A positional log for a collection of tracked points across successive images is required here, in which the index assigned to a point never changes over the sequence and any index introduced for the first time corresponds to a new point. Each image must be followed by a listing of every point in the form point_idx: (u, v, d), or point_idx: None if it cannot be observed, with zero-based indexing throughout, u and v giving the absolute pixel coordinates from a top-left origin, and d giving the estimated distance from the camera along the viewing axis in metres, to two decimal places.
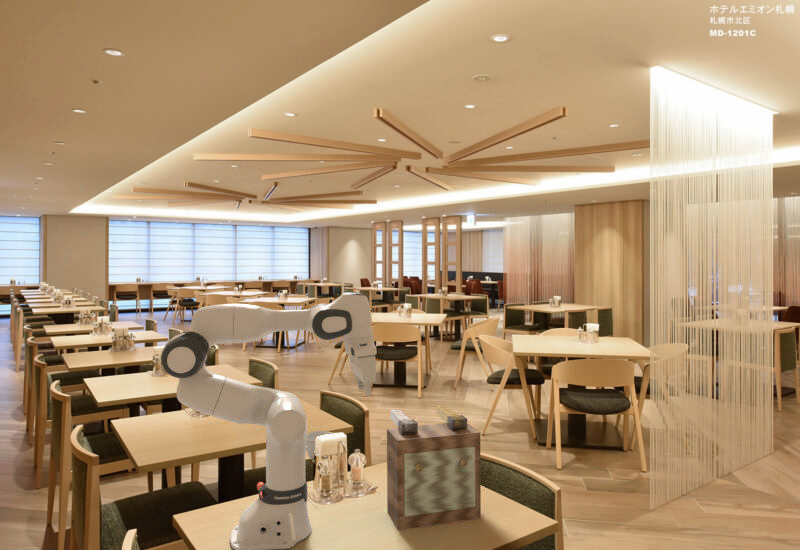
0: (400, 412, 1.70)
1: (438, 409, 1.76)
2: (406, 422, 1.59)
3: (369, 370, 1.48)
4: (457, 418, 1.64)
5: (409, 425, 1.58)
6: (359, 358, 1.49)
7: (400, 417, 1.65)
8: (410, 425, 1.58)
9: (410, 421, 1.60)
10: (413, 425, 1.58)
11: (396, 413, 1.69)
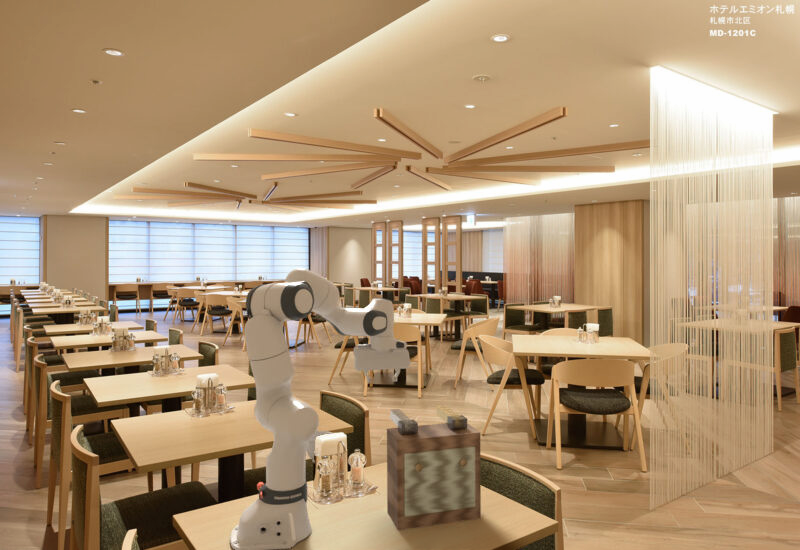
0: (400, 412, 1.70)
1: (438, 409, 1.76)
2: (406, 422, 1.59)
3: None
4: (457, 418, 1.64)
5: (409, 425, 1.58)
6: (405, 349, 1.91)
7: (400, 417, 1.65)
8: (410, 425, 1.58)
9: (410, 421, 1.60)
10: (413, 425, 1.58)
11: (396, 413, 1.69)
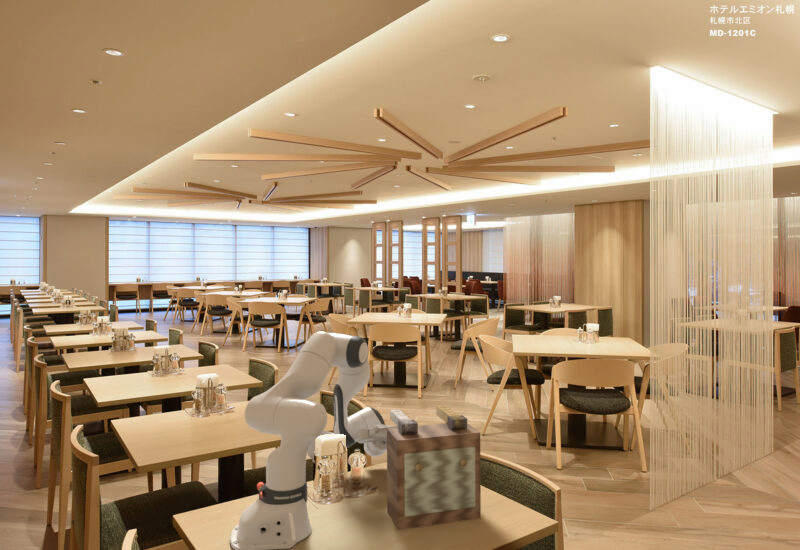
0: (400, 412, 1.70)
1: (438, 409, 1.76)
2: (406, 422, 1.59)
3: None
4: (457, 418, 1.64)
5: (409, 425, 1.58)
6: None
7: (400, 417, 1.65)
8: (410, 425, 1.58)
9: (410, 421, 1.60)
10: (413, 425, 1.58)
11: (396, 413, 1.69)
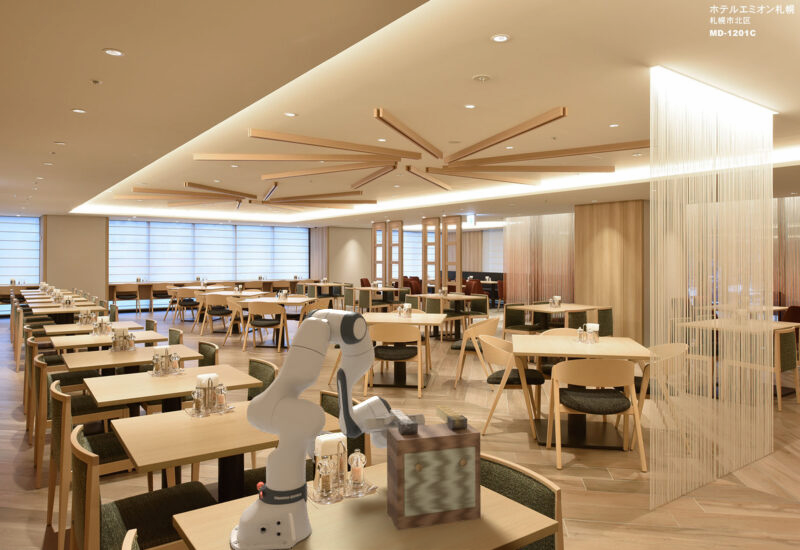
0: (400, 412, 1.70)
1: (438, 409, 1.76)
2: (406, 422, 1.59)
3: None
4: (457, 418, 1.64)
5: (409, 425, 1.58)
6: None
7: (400, 417, 1.65)
8: (410, 425, 1.58)
9: (410, 421, 1.60)
10: (413, 425, 1.58)
11: (396, 413, 1.69)
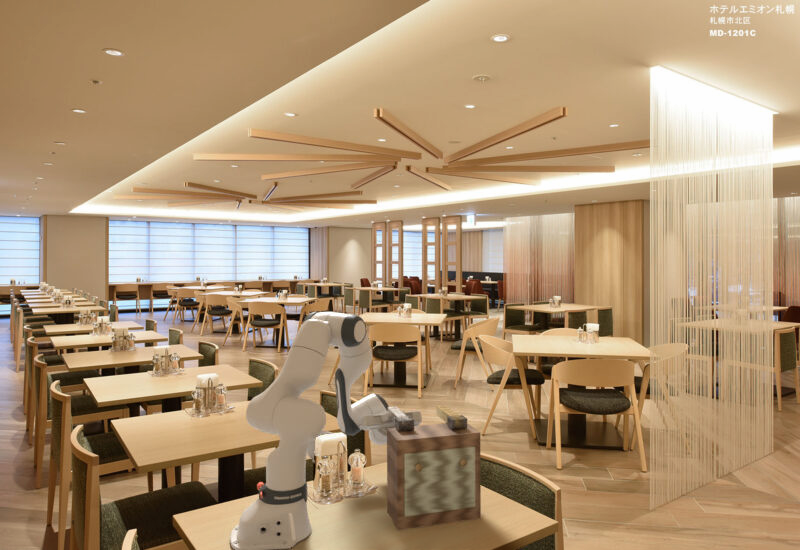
0: (397, 409, 1.74)
1: (438, 409, 1.76)
2: (403, 419, 1.63)
3: None
4: (457, 418, 1.64)
5: (405, 422, 1.61)
6: None
7: (397, 414, 1.68)
8: (407, 422, 1.61)
9: (407, 418, 1.64)
10: (410, 422, 1.62)
11: (393, 410, 1.73)
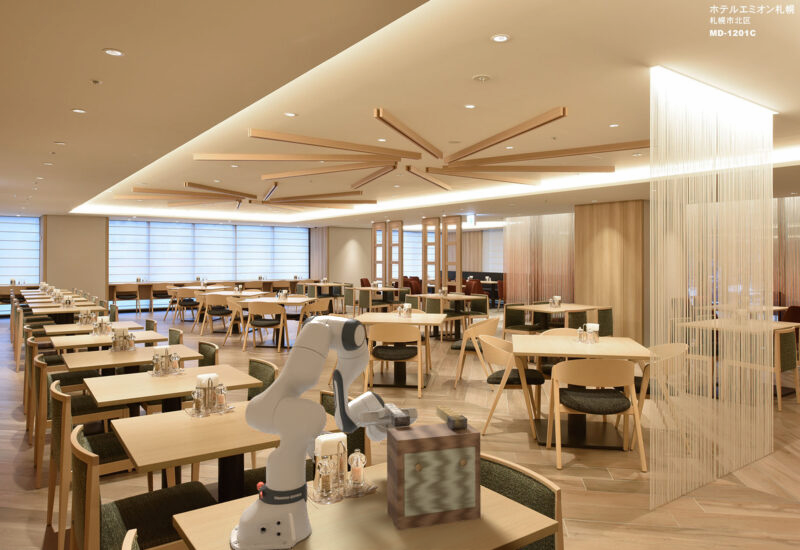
0: (393, 406, 1.78)
1: (438, 409, 1.76)
2: (399, 415, 1.67)
3: None
4: (457, 418, 1.64)
5: (401, 418, 1.65)
6: None
7: (393, 410, 1.72)
8: (403, 418, 1.66)
9: (403, 414, 1.68)
10: (406, 418, 1.66)
11: (390, 407, 1.77)
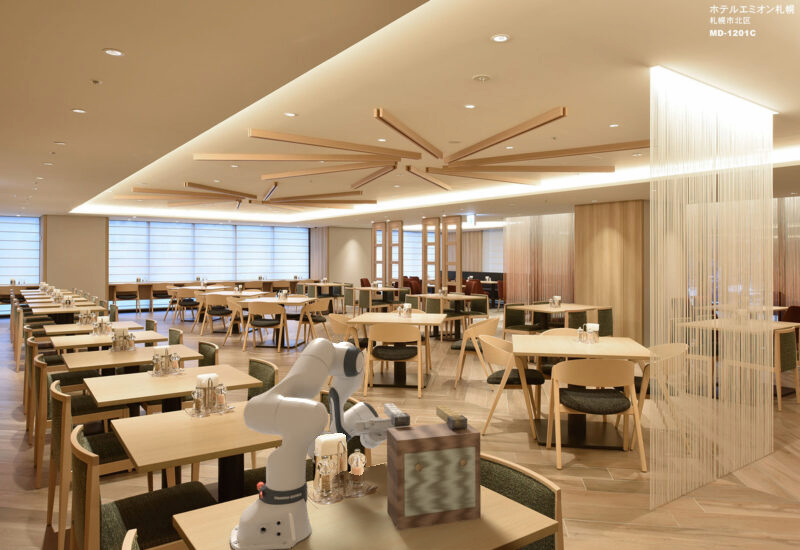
0: (393, 406, 1.78)
1: (438, 409, 1.76)
2: (399, 415, 1.67)
3: None
4: (457, 418, 1.64)
5: (401, 418, 1.66)
6: None
7: (393, 410, 1.72)
8: (403, 418, 1.66)
9: (403, 414, 1.68)
10: (406, 418, 1.66)
11: (390, 407, 1.77)
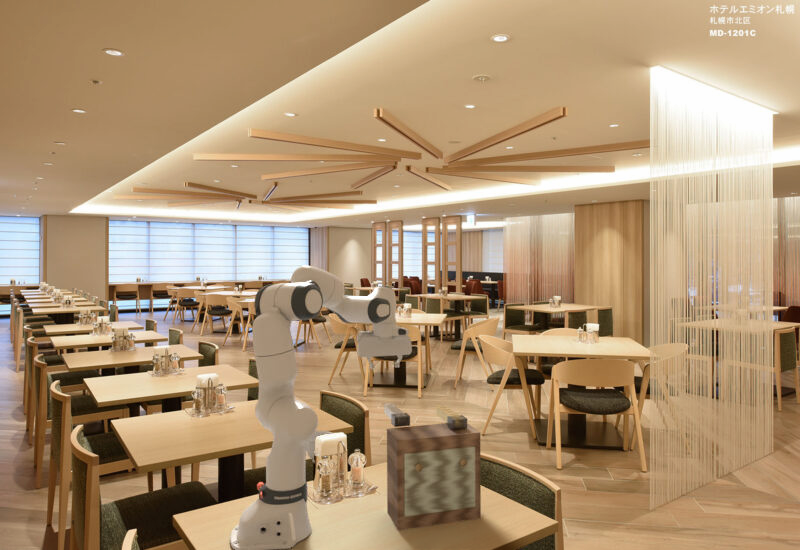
0: (393, 406, 1.78)
1: (438, 409, 1.76)
2: (399, 415, 1.67)
3: None
4: (457, 418, 1.64)
5: (401, 418, 1.66)
6: None
7: (393, 410, 1.72)
8: (403, 418, 1.66)
9: (403, 414, 1.68)
10: (406, 418, 1.66)
11: (390, 407, 1.77)
